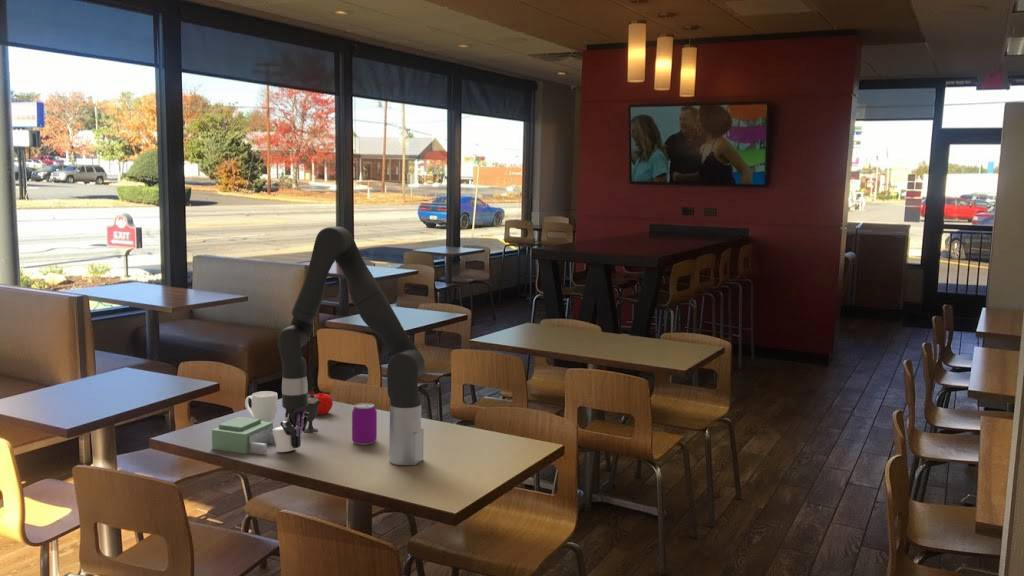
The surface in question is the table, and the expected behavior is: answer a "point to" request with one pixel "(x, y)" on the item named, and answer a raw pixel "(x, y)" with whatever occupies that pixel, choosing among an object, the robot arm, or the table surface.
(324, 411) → the apple
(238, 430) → the green drawer box
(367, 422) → the beverage can
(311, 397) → the sundae
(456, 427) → the table surface
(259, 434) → the chute bracket
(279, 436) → the white cup
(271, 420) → the mug
